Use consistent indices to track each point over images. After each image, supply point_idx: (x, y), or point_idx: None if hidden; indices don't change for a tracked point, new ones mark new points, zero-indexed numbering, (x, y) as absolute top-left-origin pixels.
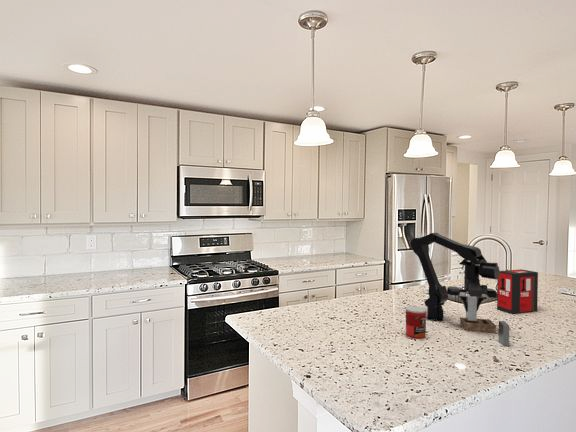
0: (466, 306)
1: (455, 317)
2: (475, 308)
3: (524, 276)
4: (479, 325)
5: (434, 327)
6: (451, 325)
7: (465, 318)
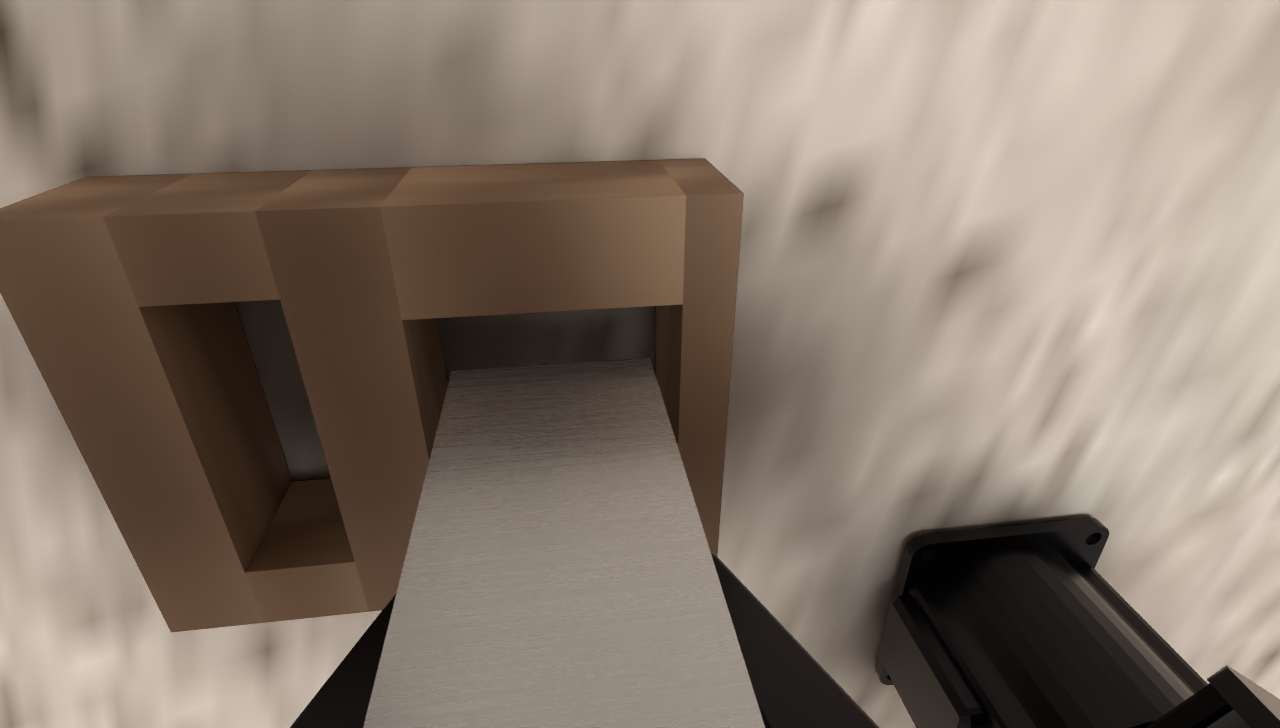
0: (761, 673)
1: None
2: (437, 624)
3: None
4: (406, 199)
5: (1186, 193)
6: (849, 386)
7: None
